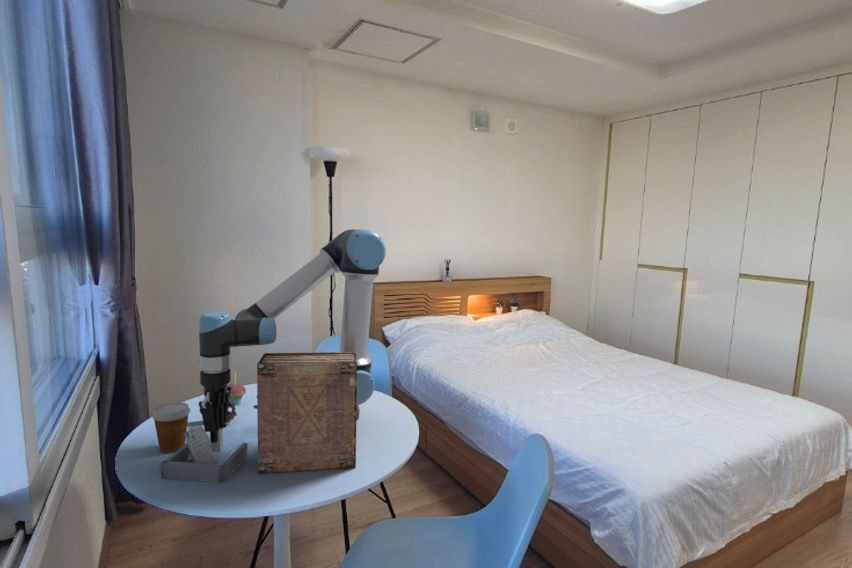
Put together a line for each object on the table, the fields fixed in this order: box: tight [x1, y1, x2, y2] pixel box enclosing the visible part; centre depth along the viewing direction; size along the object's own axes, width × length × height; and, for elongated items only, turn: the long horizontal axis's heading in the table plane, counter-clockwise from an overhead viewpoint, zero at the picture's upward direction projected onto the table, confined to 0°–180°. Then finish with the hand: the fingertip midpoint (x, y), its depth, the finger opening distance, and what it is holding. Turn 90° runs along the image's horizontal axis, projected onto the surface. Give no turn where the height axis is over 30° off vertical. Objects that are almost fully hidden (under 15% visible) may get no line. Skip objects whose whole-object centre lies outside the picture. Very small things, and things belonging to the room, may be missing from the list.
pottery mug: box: [199, 402, 238, 424], centre depth 144 cm, size 12×10×8 cm
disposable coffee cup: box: [151, 401, 191, 454], centre depth 126 cm, size 10×10×12 cm
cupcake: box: [227, 371, 247, 407], centre depth 160 cm, size 9×8×12 cm
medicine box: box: [184, 425, 217, 464], centre depth 118 cm, size 8×4×9 cm, turn 40°
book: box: [256, 351, 357, 475], centre depth 120 cm, size 25×9×30 cm, turn 100°
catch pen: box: [160, 442, 248, 483], centre depth 117 cm, size 16×13×4 cm
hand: (216, 451), depth 122 cm, fingers closed
